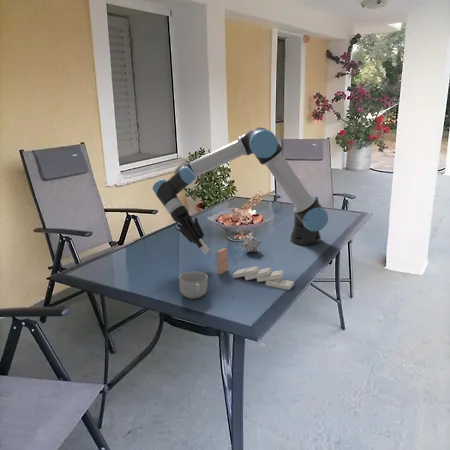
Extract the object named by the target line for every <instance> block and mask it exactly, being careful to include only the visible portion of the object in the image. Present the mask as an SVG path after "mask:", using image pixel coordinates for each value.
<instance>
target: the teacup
mask: <svg viewBox="0 0 450 450" xmlns="http://www.w3.org/2000/svg"><path fill="white" fill-rule="evenodd" d="M208 278H209V276H208V274H207V273H205V272H202V271H195V270H194V271H186V272H183V273H181V274H179V276H178V281H179V291H180V293H181V294H182V295H183V296H184V297H186V298H187V299H191V300H194V299H199V298H202V297H203V296H204V295H206V293H207V290H208V285H209V284H208Z"/></svg>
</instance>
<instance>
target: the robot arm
mask: <svg viewBox="0 0 450 450" xmlns="http://www.w3.org/2000/svg"><path fill="white" fill-rule="evenodd" d="M252 154H253V155H254V157H256V159H257V161H258V162H259V163H260V164H261V165H262V166H263V165H264V166H266V168H267V169H268V170H269V172H270V173H271V174H272V176H273V178H274V179H275V180H276V182H277V183H278V185H279V186H280V188H281V189H282V191H284V194H286V196H287V198H288V200H290V202H291V204H292V205H293V213H294V215H293V216H294V219H293V220H294V224H293V225H294V226H293V228H292V230H291V233H290V242H291V243H292V244H296V245H300V246H311V245H312V246H313V245H314V246H315V245H318V244H320V243H321V240H322V239H321V238H322V237H321V233H320V231H321V230H322V229H324V228H325V227H327V224H328V222H329V215H328V212H327V211H326V209H325V208H323V207H322V205H321V204H320V201H319V197H318V196H317V195H310V193H309V191H308V190H307V189H306V188H305V186H304V185H303V183H302V182H301V180H300V179H299V177H298V176H297V174H296V173H295V171H294V169H293V168H292V167H291V166H290V164H289V162H288V161H287V159H286V158H285V157H284V155H283V147H282V146H281V144H280V143H279V141H278V139H277V137H276V135H275V133H274V132H272V131H271V130H269V129H266V128H265V127H256V128H253V129H251V130H250V131H248V132H246V133H245V134H242V135H241V136H238V139H237V140H235V141H232V142H231V143H228V144H227V145H224V146H222V147H220V148H218V149H216V150H215V149H214V151H211V152H209V153H207V154H205V155H203V156H201V157H199V158H195V159H194V160H192V161H190V162H188V163H186V164H185V163H184V164H181V165H179V166H178V167H177V168H176V169H175V171H174V175H172V176H171V177H170V178H169V179H167V180H166V179H165V178H163V179H160V180H157V181H156V182H155V183H154V184H153V186H152V191H153V192H154V193H155V196H156V197H157V198H158V200H159V201H160V203H161V204H162V205H163V207H164V208H165V210H166V211H167V213H168V214H169V215H170V217H171V218H172V220H173V221H174V222H176V225H175V228H174V229H176V231H179V232H180V233H181V234H182V236H184V238H186V239H187V240H188V241H189V243H191V244H196V246H197V247H198V248H199V249H200V250H201V251H202V254H204V255H207V254H208V253H209V251H211V249H210V248H209V246H208V245H207V243H206V241H205V239H204V237H205V234H204V232H203V230H202V227H201V226H200V223H199V220H198V217H195V218H193V217H192V216H191V215H190V213H189V210H188V209H187V208H186V206H185V205H184V203H183V202H182V200H181V199H180V198H179V196H178V194H180V193H181V192H182V191H183V190H184V189H186V188H187V187H188V186H190V185H191V184H192V183H193V182H194V181H195V180H196V178H197V177H199V176H201V175H203V174H205V173H206V174H207V173H208V172H209V171H212V170H214V169H216V168H219V167H221V166H223V165H225V164H228V163H229V162H232V161H234V160H236V159H238V158H240V157H243V156H246V157H247V156H250V155H252Z"/></svg>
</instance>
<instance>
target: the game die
mask: <svg viewBox="0 0 450 450" xmlns="http://www.w3.org/2000/svg"><path fill="white" fill-rule="evenodd" d="M260 244H262V242H261V241H260V242H259V240H258V239H257V238H256V235H255V234H254V235H252V236H246V235H245V236H244V241H243V244H241V245H240V247H243V248H244V250H245V251H246V253H247V254H249V253H253V252H256V253H258V248H259V246H260Z"/></svg>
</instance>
